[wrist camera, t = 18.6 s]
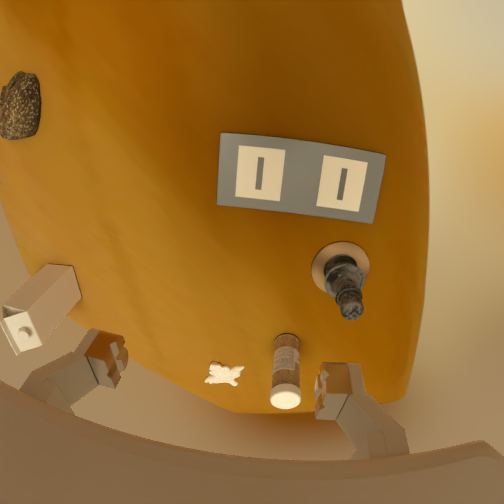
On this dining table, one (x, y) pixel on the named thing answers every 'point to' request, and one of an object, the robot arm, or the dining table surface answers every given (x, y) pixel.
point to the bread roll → (20, 107)
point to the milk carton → (39, 306)
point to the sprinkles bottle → (286, 372)
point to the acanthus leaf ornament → (223, 374)
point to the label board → (299, 177)
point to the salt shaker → (345, 285)
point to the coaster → (337, 249)
